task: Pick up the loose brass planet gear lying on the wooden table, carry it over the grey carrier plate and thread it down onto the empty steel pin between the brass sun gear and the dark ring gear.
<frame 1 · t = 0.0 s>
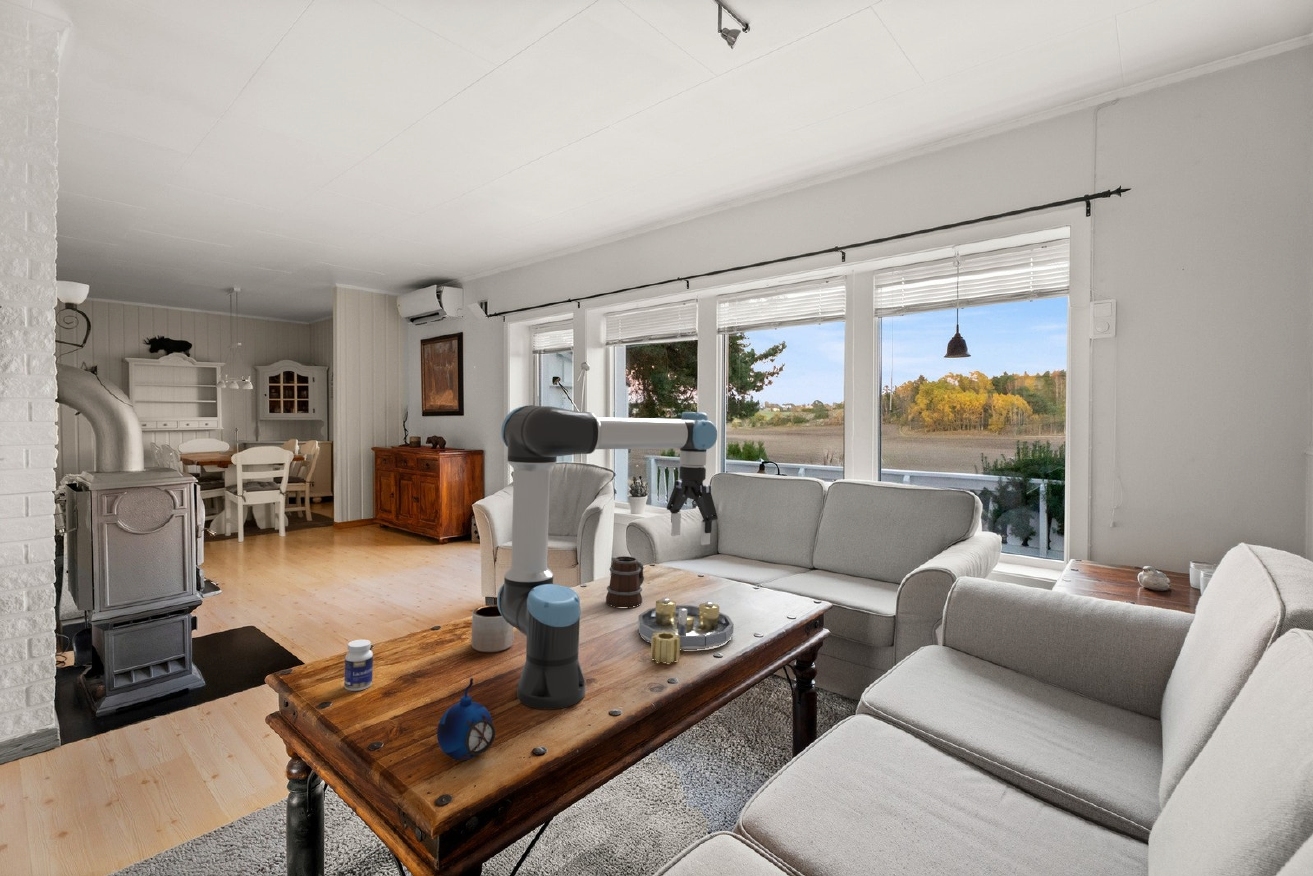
hand: (690, 539, 177), 28 cm above the table, fingers open, 13 cm apart
planet gear: (665, 658, 161), on the table
mug: (627, 602, 209), on the table
carrier: (684, 633, 181), on the table
bomb: (466, 758, 113), on the table
pill bottle: (358, 687, 140), on the table
planter: (492, 646, 166), on the table
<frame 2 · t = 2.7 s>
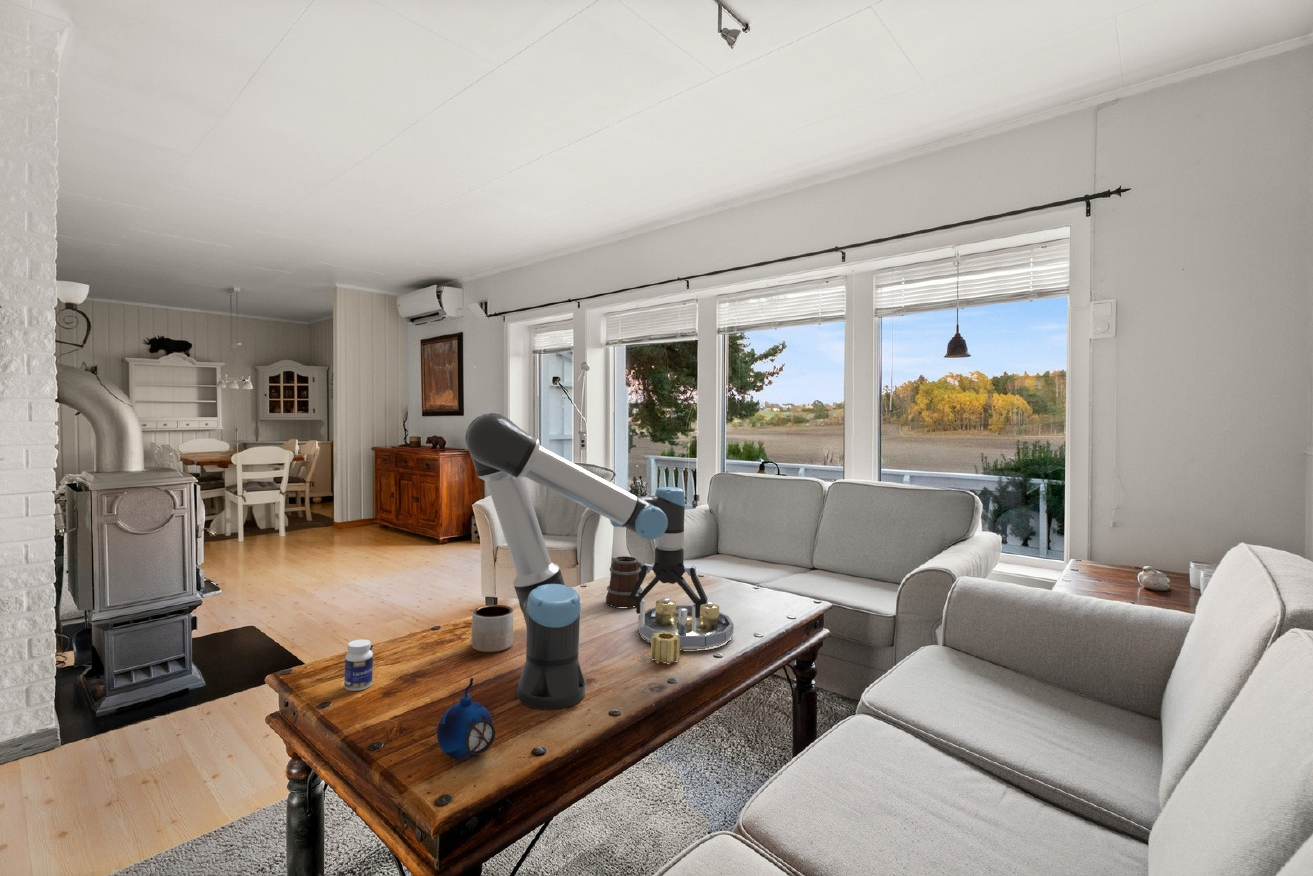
hand: (667, 627, 161), 8 cm above the table, fingers open, 13 cm apart
nothing on the table moved.
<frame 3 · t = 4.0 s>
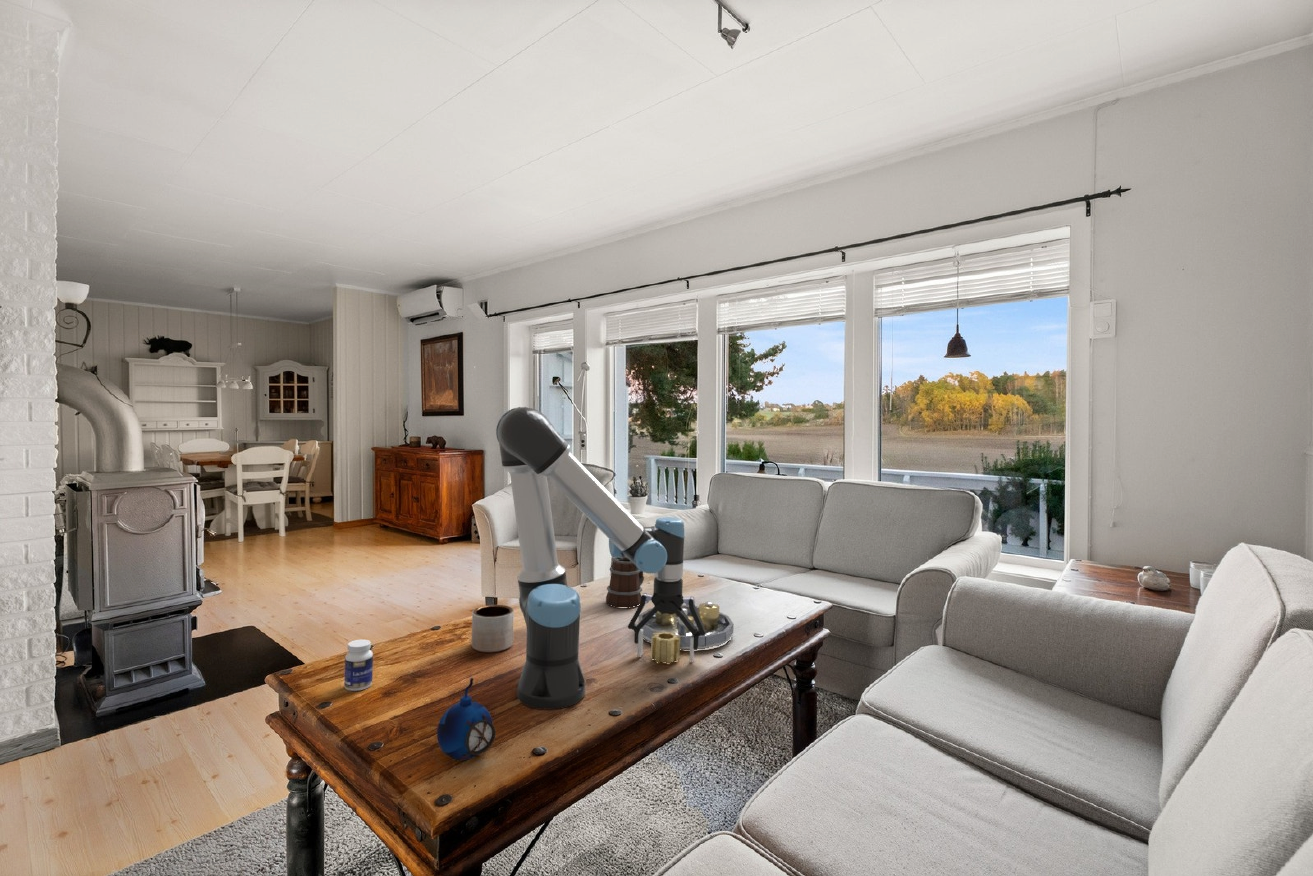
hand: (665, 658, 162), 0 cm above the table, fingers open, 13 cm apart
nothing on the table moved.
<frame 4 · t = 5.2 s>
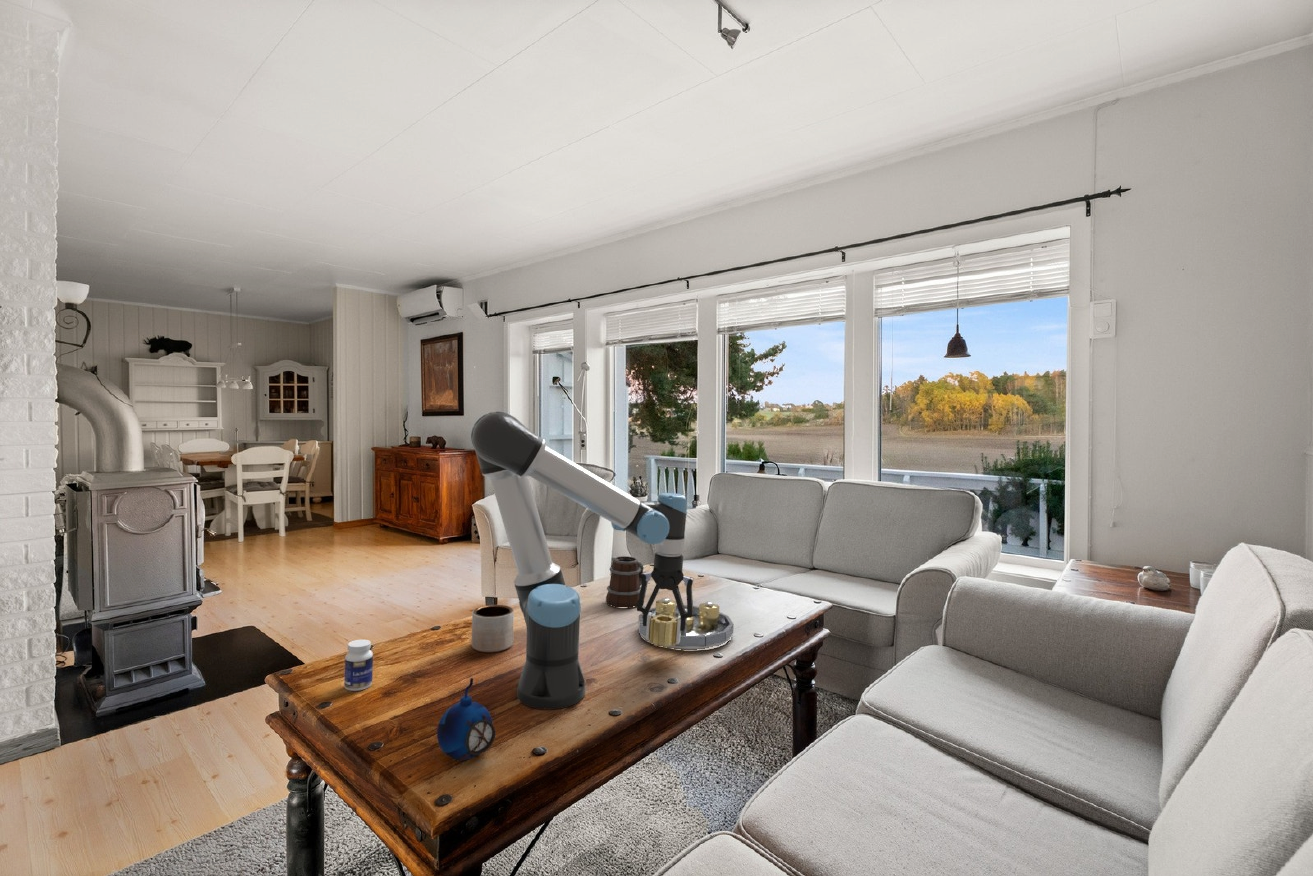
hand: (662, 640, 161), 5 cm above the table, fingers closed on planet gear, 7 cm apart
planet gear: (662, 641, 161), point 5 cm above the table, touching gripper
everything else where it was.
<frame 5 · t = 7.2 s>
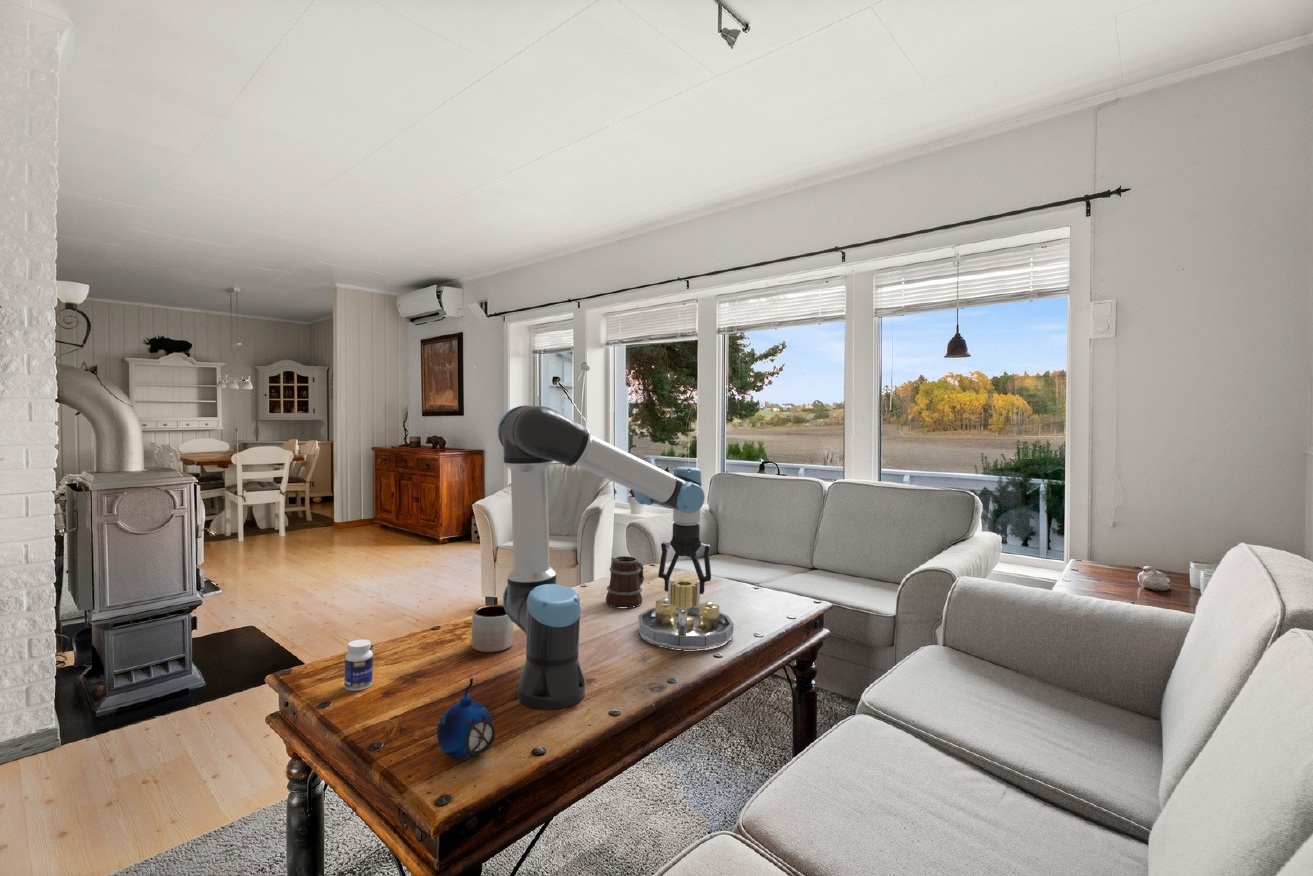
hand: (683, 603, 173), 11 cm above the table, fingers closed on planet gear, 7 cm apart
planet gear: (683, 604, 173), point 11 cm above the table, touching gripper
everything else where it was.
when the fingers open (3 cm above the table, at t = 9.3 s): planet gear drops 1 cm, resting on carrier.
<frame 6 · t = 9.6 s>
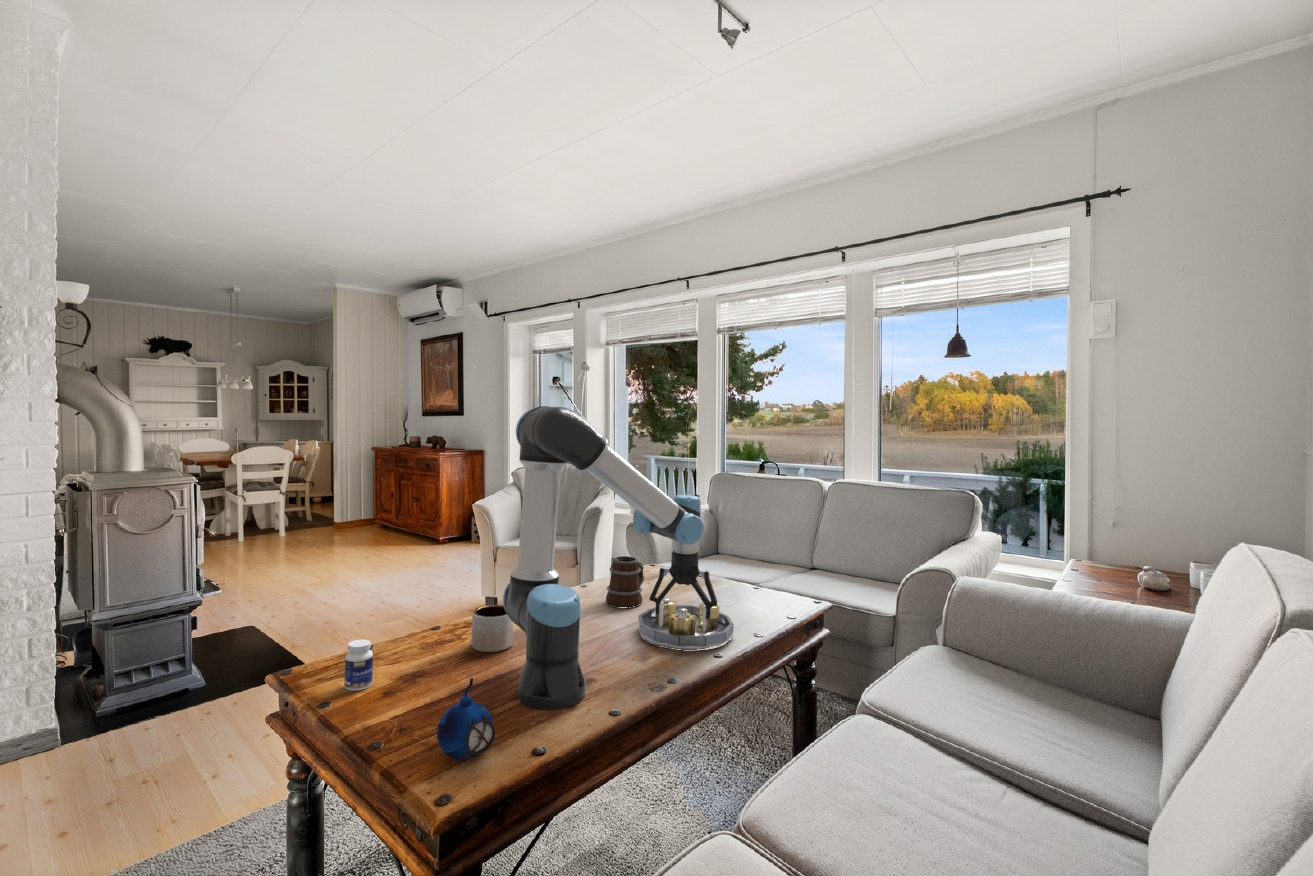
hand: (682, 628, 173), 4 cm above the table, fingers open, 11 cm apart
planet gear: (681, 637, 173), point 1 cm above the table, touching carrier
everything else where it was.
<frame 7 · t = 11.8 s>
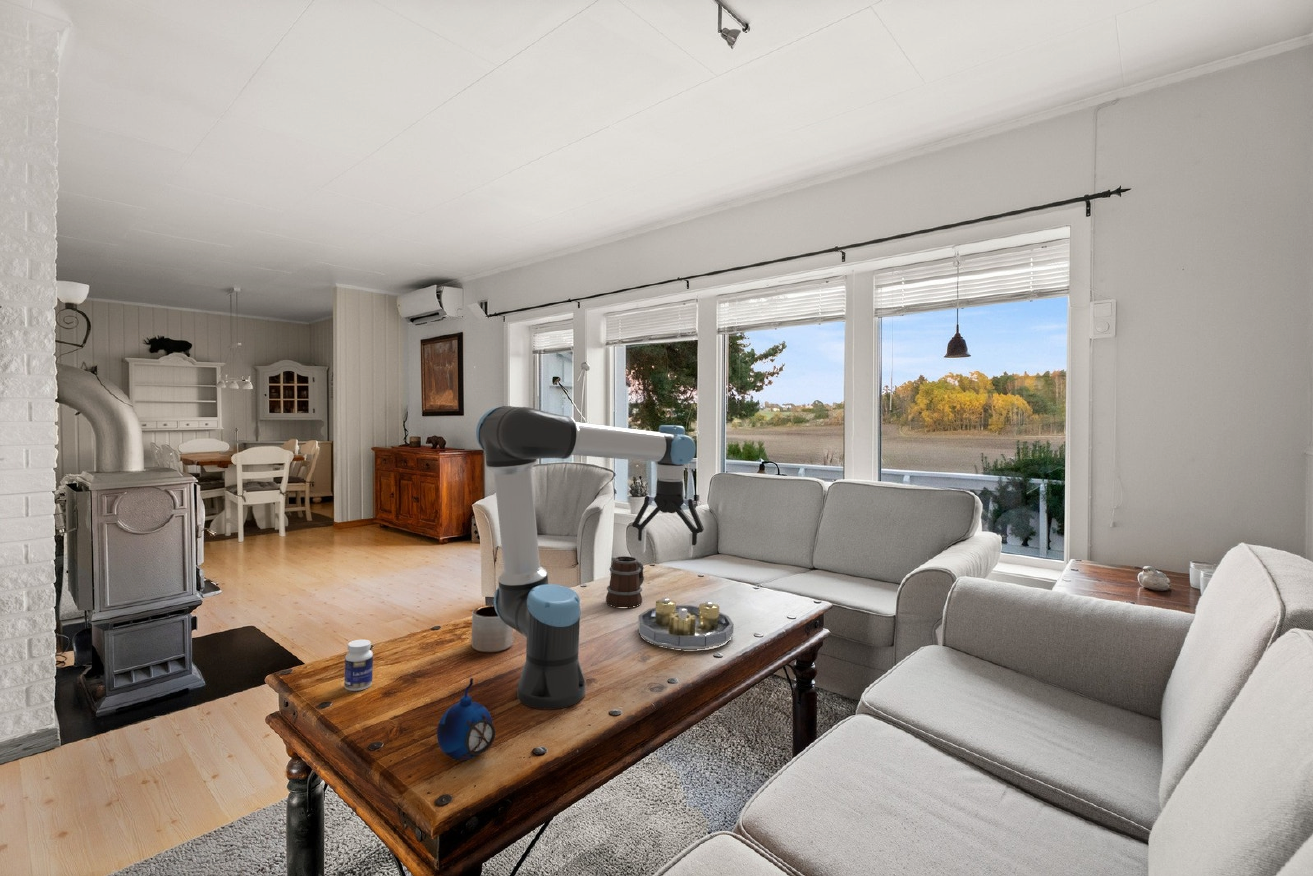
hand: (666, 554, 175), 24 cm above the table, fingers open, 13 cm apart
nothing on the table moved.
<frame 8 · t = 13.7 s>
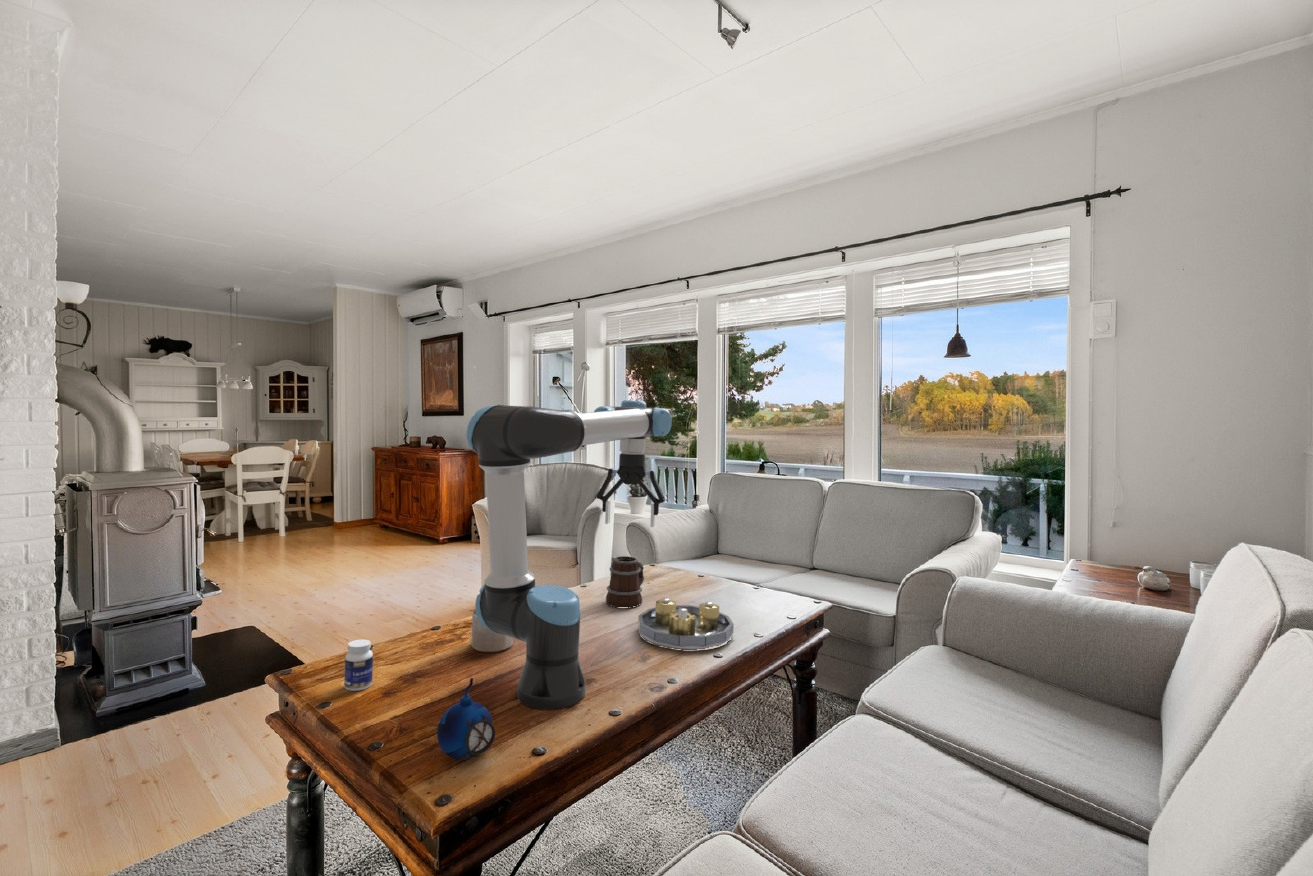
hand: (629, 524, 183), 31 cm above the table, fingers open, 13 cm apart
nothing on the table moved.
at the end: planet gear 0.1 cm from the target spot on the carrier, point 1.5 cm above the carrier's base; planet gear tilted 0°; the gripper is holding nothing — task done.
